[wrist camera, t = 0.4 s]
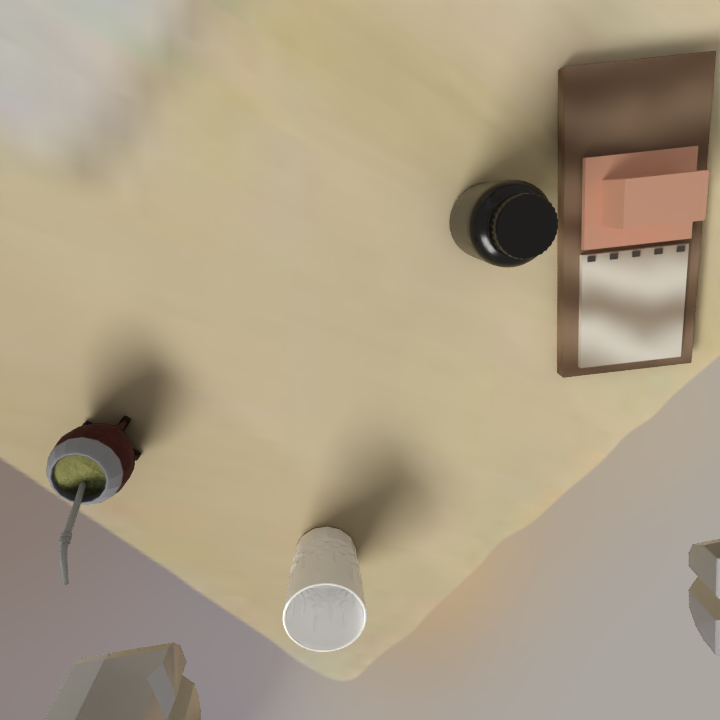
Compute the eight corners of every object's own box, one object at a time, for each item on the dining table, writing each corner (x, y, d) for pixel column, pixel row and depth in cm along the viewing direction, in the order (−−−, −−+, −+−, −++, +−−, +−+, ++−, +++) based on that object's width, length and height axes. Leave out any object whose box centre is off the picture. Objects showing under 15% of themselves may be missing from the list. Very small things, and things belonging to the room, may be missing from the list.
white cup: (311, 509, 60) (307, 570, 50) (374, 539, 61) (382, 603, 52) (277, 564, 62) (268, 633, 52) (339, 591, 63) (341, 663, 54)
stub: (582, 158, 49) (607, 155, 45) (694, 146, 49) (729, 141, 45) (581, 249, 51) (604, 255, 47) (687, 237, 52) (720, 242, 47)
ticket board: (558, 70, 48) (568, 64, 46) (704, 54, 49) (721, 48, 46) (557, 372, 57) (566, 379, 55) (682, 358, 57) (695, 364, 55)
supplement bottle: (534, 212, 52) (592, 218, 40) (487, 271, 53) (530, 293, 42) (479, 165, 50) (523, 158, 39) (432, 227, 52) (461, 238, 40)
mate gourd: (99, 394, 55) (17, 466, 41) (168, 437, 57) (113, 521, 42) (61, 450, 56) (-30, 538, 42) (130, 490, 58) (65, 588, 44)
